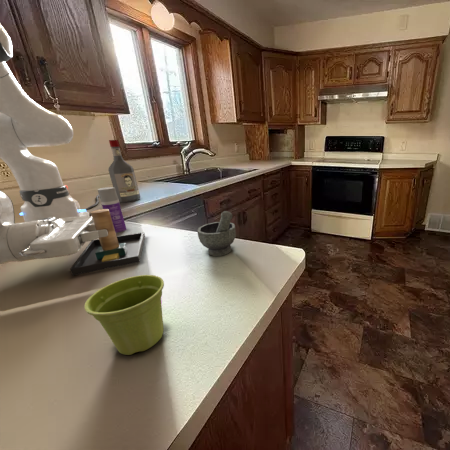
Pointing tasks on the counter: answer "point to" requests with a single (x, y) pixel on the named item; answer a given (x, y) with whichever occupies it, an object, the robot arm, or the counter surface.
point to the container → (112, 207)
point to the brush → (109, 242)
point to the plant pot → (130, 312)
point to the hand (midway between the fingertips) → (109, 228)
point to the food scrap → (110, 257)
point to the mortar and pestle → (218, 235)
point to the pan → (90, 262)
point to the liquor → (122, 176)
